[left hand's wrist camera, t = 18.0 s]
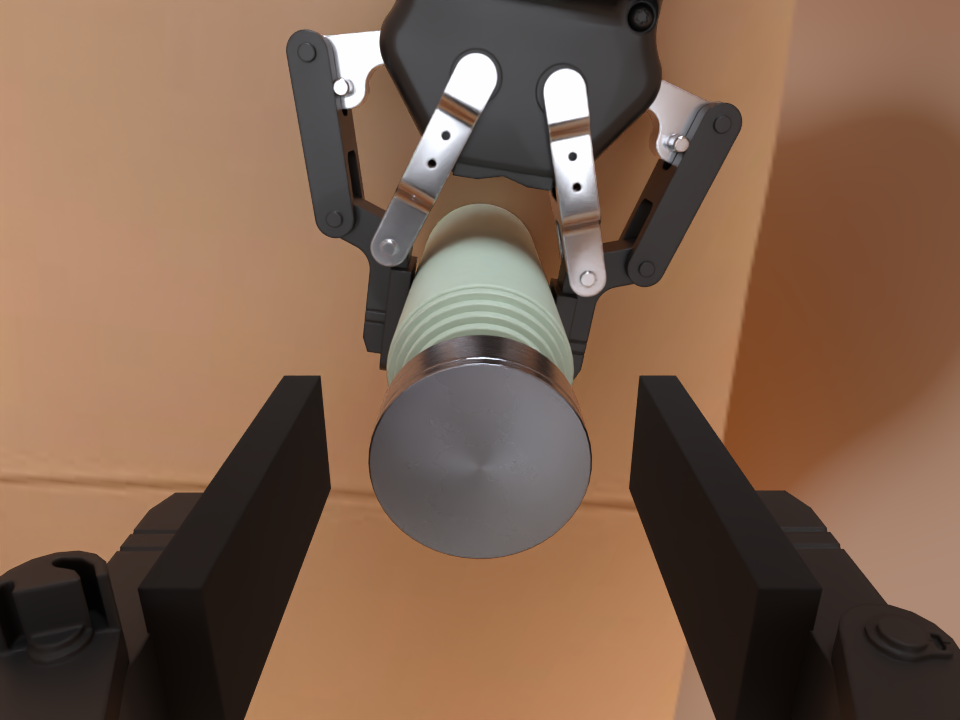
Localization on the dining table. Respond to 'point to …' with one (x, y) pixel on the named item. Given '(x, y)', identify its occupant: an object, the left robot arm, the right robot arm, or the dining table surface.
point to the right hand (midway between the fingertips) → (469, 372)
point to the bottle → (480, 290)
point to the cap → (480, 448)
